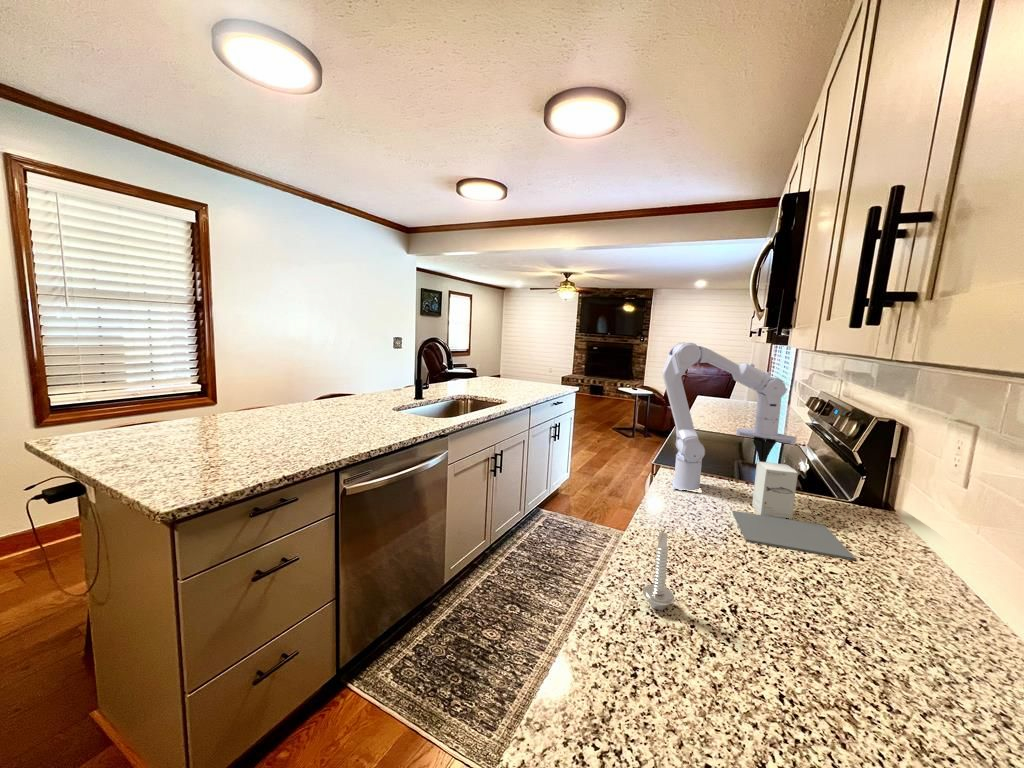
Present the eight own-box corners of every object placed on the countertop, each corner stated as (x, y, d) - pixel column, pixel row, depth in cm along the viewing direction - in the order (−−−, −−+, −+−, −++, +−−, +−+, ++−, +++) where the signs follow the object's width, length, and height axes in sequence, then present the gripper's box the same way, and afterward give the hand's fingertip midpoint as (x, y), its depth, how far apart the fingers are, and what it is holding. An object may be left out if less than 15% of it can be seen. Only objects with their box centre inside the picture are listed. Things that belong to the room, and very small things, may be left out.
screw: (673, 618, 63) (641, 610, 64) (672, 600, 67) (642, 593, 69) (680, 541, 61) (647, 535, 63) (678, 528, 66) (648, 522, 67)
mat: (732, 512, 103) (732, 510, 103) (823, 526, 97) (824, 524, 96) (745, 541, 88) (746, 539, 88) (855, 560, 82) (855, 558, 82)
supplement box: (759, 515, 102) (765, 468, 100) (751, 504, 109) (756, 460, 107) (793, 520, 99) (798, 472, 98) (782, 508, 107) (787, 463, 105)
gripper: (735, 416, 115) (731, 461, 117) (796, 424, 106) (790, 472, 107) (741, 413, 121) (736, 456, 122) (799, 420, 111) (793, 467, 113)
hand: (762, 463), depth 115 cm, fingers closed
